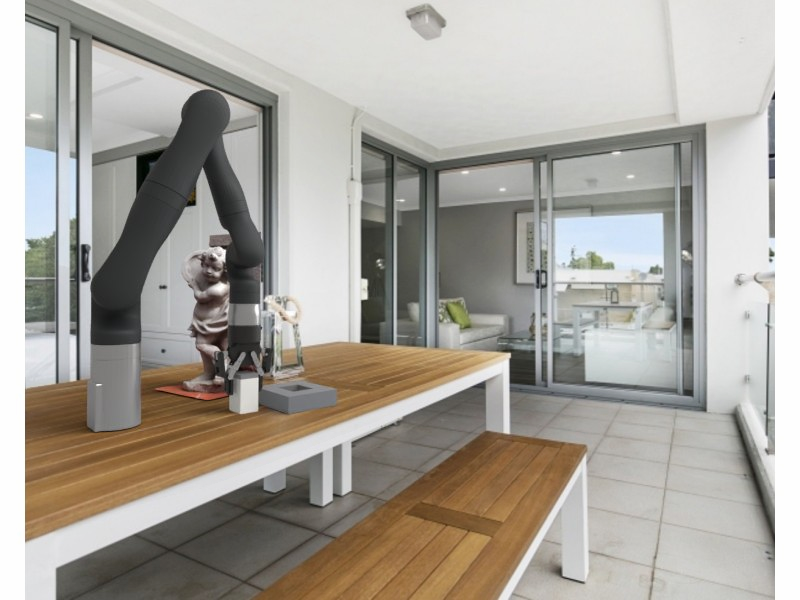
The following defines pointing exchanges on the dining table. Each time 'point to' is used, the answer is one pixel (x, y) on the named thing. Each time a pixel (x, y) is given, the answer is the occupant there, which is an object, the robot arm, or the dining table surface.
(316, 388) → the grey square socket
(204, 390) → the cherub statue
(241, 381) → the plug
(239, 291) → the robot arm
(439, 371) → the dining table surface
